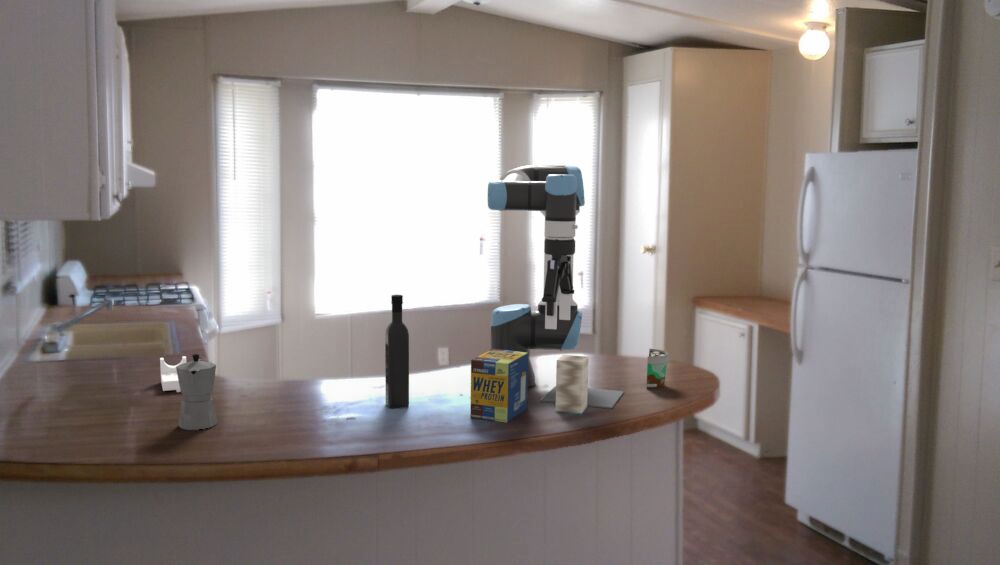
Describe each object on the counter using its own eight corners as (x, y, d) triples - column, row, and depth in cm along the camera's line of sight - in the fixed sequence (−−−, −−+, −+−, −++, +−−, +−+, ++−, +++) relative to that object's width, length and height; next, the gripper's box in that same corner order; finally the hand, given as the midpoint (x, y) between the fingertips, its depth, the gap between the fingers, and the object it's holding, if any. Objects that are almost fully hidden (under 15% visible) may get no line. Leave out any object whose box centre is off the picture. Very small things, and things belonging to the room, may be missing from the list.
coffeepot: (215, 431, 223) (213, 359, 221) (174, 434, 221) (172, 360, 218) (220, 414, 238) (218, 345, 235) (181, 416, 236) (179, 347, 233)
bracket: (161, 383, 270) (160, 357, 269) (186, 381, 272) (185, 356, 271) (163, 394, 258) (162, 367, 257) (189, 391, 260) (189, 365, 259)
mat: (540, 401, 254) (540, 400, 254) (556, 386, 271) (556, 385, 271) (611, 408, 248) (611, 407, 248) (623, 392, 265) (623, 391, 265)
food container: (667, 391, 267) (669, 358, 266) (646, 390, 268) (647, 356, 267) (668, 381, 279) (670, 349, 278) (648, 380, 280) (649, 348, 279)
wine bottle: (388, 408, 245) (388, 297, 241) (384, 403, 250) (384, 294, 246) (409, 407, 247) (409, 296, 243) (405, 401, 252) (405, 293, 248)
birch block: (555, 411, 245) (556, 360, 243) (562, 405, 251) (563, 354, 250) (581, 414, 243) (582, 362, 241) (587, 407, 249) (588, 356, 247)
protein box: (469, 418, 238) (470, 359, 236) (492, 403, 252) (492, 348, 250) (507, 423, 234) (508, 363, 232) (528, 408, 248) (529, 351, 246)
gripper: (562, 243, 212) (560, 334, 214) (586, 234, 235) (584, 317, 238) (530, 241, 214) (529, 331, 217) (557, 233, 237) (555, 315, 240)
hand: (557, 324), depth 227 cm, fingers open, 13 cm apart
